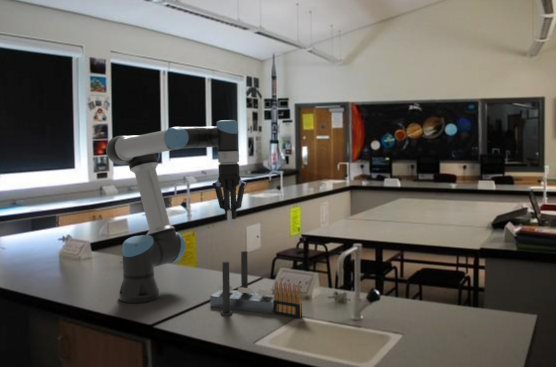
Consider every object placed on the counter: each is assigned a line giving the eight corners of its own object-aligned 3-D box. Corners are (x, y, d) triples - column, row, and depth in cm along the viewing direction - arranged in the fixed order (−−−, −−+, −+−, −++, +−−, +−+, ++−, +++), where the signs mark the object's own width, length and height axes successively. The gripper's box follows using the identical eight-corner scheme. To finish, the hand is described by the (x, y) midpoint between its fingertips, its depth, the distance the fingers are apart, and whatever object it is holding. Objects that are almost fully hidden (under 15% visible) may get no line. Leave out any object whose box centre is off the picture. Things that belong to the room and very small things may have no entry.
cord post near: (218, 315, 190) (218, 263, 188) (223, 311, 194) (223, 260, 192) (229, 316, 189) (228, 264, 187) (233, 312, 192) (233, 261, 190)
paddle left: (217, 290, 200) (218, 285, 200) (223, 290, 204) (223, 285, 205) (226, 290, 198) (227, 286, 199) (231, 291, 203) (232, 286, 203)
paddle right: (258, 294, 194) (258, 289, 195) (262, 294, 199) (263, 289, 199) (267, 295, 193) (267, 290, 194) (271, 295, 198) (272, 290, 198)
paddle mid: (237, 292, 197) (238, 287, 197) (242, 292, 202) (243, 287, 202) (246, 293, 196) (247, 288, 196) (251, 293, 200) (252, 288, 201)
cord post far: (238, 300, 206) (237, 252, 204) (242, 297, 209) (241, 250, 207) (247, 301, 205) (246, 252, 203) (250, 298, 208) (250, 250, 206)
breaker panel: (210, 306, 199) (210, 295, 199) (220, 299, 208) (220, 288, 207) (271, 313, 191) (271, 302, 191) (279, 305, 200) (279, 295, 199)
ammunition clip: (302, 317, 188) (302, 283, 187) (300, 318, 186) (300, 285, 185) (275, 312, 193) (275, 279, 192) (272, 313, 191) (272, 280, 190)
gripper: (207, 164, 193) (210, 229, 195) (241, 163, 189) (243, 230, 191) (216, 162, 200) (219, 225, 202) (249, 162, 196) (251, 226, 198)
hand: (231, 227), depth 197 cm, fingers closed
